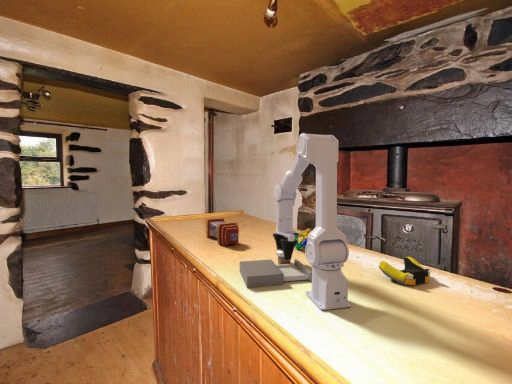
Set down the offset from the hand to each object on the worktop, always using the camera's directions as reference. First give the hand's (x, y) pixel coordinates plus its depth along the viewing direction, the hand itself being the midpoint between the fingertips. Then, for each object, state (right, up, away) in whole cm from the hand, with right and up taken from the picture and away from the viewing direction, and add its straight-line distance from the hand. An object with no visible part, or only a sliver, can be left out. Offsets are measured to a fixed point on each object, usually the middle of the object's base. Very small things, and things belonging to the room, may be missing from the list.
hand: (284, 256), depth 93 cm
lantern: (-26, -1, +32) cm, 42 cm away
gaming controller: (+37, -5, -12) cm, 39 cm away
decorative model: (+12, -2, +20) cm, 24 cm away
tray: (0, -3, -10) cm, 11 cm away
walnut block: (0, -3, 0) cm, 3 cm away
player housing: (-8, -4, -12) cm, 15 cm away
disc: (0, 0, 0) cm, 0 cm away
